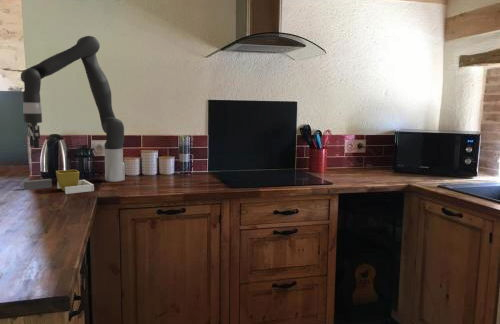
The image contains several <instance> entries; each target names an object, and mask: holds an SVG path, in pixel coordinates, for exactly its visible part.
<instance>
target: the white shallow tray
mask: <svg viewBox="0 0 500 324" xmlns="http://www.w3.org/2000/svg"><path fill="white" fill-rule="evenodd" d="M56 182H57V183H56V188H57V189H58V190H59V189H61V188H60V186H59V184H58V181H56ZM94 185H95V184H93V183H91V182H89V181H88V180H86V179H79V182H78V186H71V187H65V191H64V194H66V195H69V194H76V193H77V194H79V193H87V192H88V193H89V192H94V191H95V186H94Z"/></svg>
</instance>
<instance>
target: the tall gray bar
mask: <svg viewBox="0 0 500 324" xmlns="http://www.w3.org/2000/svg"><path fill="white" fill-rule="evenodd" d="M52 182H53V180H52V178H45V179H44V178H43V179H35V180H33V179H32V180H23V181H22V189H23V190H24V191H29V190H37V189H38V190H40V189H50V188H53V183H52Z"/></svg>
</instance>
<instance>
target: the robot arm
mask: <svg viewBox="0 0 500 324" xmlns="http://www.w3.org/2000/svg"><path fill="white" fill-rule="evenodd" d="M100 45H101V44H100V42H99V40H98V39H97V37H94V36H91V35H85V36H82V37H80V38H78V40H77V41H76V44H74V45H73V46H71V47H69V48H68V49H65V50H62V51H60V52H58V53H55V54H54V55H52V56H49V57H48V58H46V59H43V60H42V61H41V62H39V63H38V64H37V63H36V64H35V65H32V66H30V67H28V68H26V69H23V71H22V72H21V73H20V79H21V82H22V83H23V84H24V85H23V86H24V87H23V88H24V90H23V93H22V97H23V98H22V99H23V101H22V102H23V106H22V110H23V122H24V123H25V124H27V137H28V139H29V147H33V148H34V149H38V148H40V139H41V132H40V125H38V124H41V123H43V117H42V116H43V113H42V103H41V83H42V79H45V77H49V76H51V75H54V74H55V73H57V72H59V71H61V70H62V69H65V68H66V67H67V66H69V65H71V64H72V63H74V62H76V61H79V60H81V63H82V64H83V67H84V71H85V73H86V77H87V81H88V85H89V88H90V91H91V94H92V97H93V100H94V102H95V105H96V108H97V111H98V113H99V119H100V120H99V121H100V124H101V129H102V132H104V134H106V136H105V137H106V138H105V139H106V140H105V143H104V144H103V145H104V174H105V175H104V179H105V180H104V181H106V182H114V183H115V182H121V181H125V180H126V179H125V178H126V176H125V172H126V171H125V168H126V167H125V162H124V147H123V145H124V144H125V125H124V123H123V122H122V120H120V119H118V118H116V116H115V113H114V110H113V107H112V102H113V101H112V99H113V98H112V90H111V88H110V83H109V80H108V78H107V76H106V74H105V73H104V71H103V70H102V68H101V66H100V64H99V62H98V59H97V53H98V52H99V50H100Z"/></svg>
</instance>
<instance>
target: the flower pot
mask: <svg viewBox="0 0 500 324" xmlns="http://www.w3.org/2000/svg"><path fill="white" fill-rule="evenodd" d="M55 175H56V180H57V181H56V182H58V184H59V186H60V189H61V190H62V191H63V192H65V187H71V186H78V182H79V180H80V171H79V170H77V169H67V170H55Z"/></svg>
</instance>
